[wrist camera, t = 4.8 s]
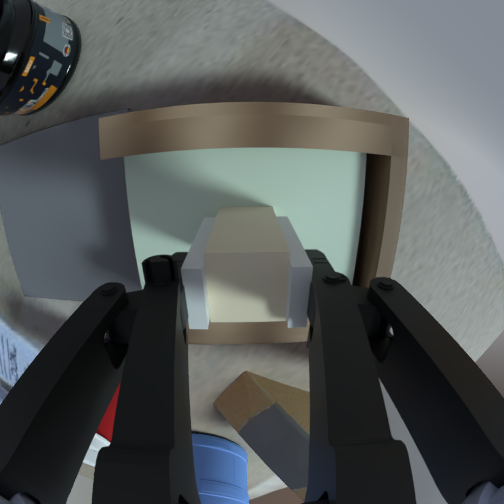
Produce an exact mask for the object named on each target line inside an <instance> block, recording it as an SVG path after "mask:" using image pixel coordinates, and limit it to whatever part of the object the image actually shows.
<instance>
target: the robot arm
mask: <svg viewBox="0 0 504 504" xmlns="http://www.w3.org/2000/svg"><path fill="white" fill-rule="evenodd" d="M276 217H277V219H278V222H279V224H280V227H281V230H282V232H283V235H284V237H285V240H286V242H287V245H288V248H289V250H290V258H289V267H288V284H287V300H286V315H285V317H286V321H287V326H288V328H298V327H306V325H307V317H308V319H309V322H310V325H309V332H308V339H307V346H306V347H309V375H310V435H309V469H308V485H307V491H306V495H305V501H304V503H302V504H417V503H416V496H415V489H414V482H413V476H412V470H411V465H410V459H409V454H408V451H407V448H406V445H405V444H404V443H403V442H402V440H394V438H393V437H392V435H391V431H390V426H389V421H388V416H387V411H386V407H385V402H384V398H383V394H382V390H381V386H380V381H379V379H380V380H381V382H382V384H383V386H384V387H385V389H386V391H387V393H388V395H389V396H390V398H391V400H392V402H393V404H394V405H395V407H396V409H397V411H398V413H399V414H400V416H401V418H402V420H403V422H404V424H405V425H406V427H407V429H408V431H409V433H410V435H411V437H412V439H413V440H414V442H415V444H416V446H417V448H418V450H419V452H420V454H421V456H422V458H423V460H424V462H425V464H426V466H427V468H428V470H429V472H430V474H431V476H432V478H433V480H434V482H435V484H436V486H437V488H438V490H439V491H440V493H441V495H442V497H443V498H444V499H445V501H446V502H447V503H448V504H504V398H503V397H502V395H501V394H500V393H499V391H498V390H497V389H496V388H495V386H494V385H493V384H492V383H491V381H490V380H489V379H488V378H487V377H486V375H485V374H484V373H483V372H482V371H481V369H480V368H479V367H478V366H477V365H476V363H475V362H474V361H473V360H472V359H471V358H470V357H469V355H468V354H467V353H466V352H465V351H464V350H463V349H462V347H461V346H460V345H459V344H458V343H457V342H456V341H455V340H454V339H453V338H452V336H451V335H450V334H449V333H448V332H447V331H446V330H445V329H444V328H443V327H442V326H441V325H440V324H439V323H438V322H437V321H436V319H435V318H434V317H433V316H432V315H431V314H430V313H429V312H428V311H427V310H426V309H425V308H424V307H423V306H422V305H421V304H420V303H419V302H418V301H417V300H416V299H415V298H414V297H413V296H412V295H411V294H410V293H409V292H408V291H407V290H406V289H405V288H404V287H403V286H402V285H400V284H399V283H398V282H397V281H395V280H392V279H391V278H388V277H387V278H386V277H377V278H373V279H372V280H370V283H369V288H367V287H359V286H353V285H351V283H350V280H349V279H348V277H347V276H345V275H344V274H342V273H339V272H335V270H334V269H333V267H332V266H331V264H330V263H329V261H328V259H327V258H326V256H325V254H324V253H322V252H321V251H319V250H318V249H304V248H303V246H302V244H301V242H300V240H299V238H298V236H297V234H296V232H295V230H294V228H293V226H292V224H291V222H290V220H289V219H288V217H287V216H276ZM215 218H216V217H205V218H204V219H203V222H202V224H201V226H200V228H199V230H198V232H197V234H196V236H195V239H194V241H193V243H192V245H191V247H190V250H189V252H175V253H174V254H172V255H155V256H151V257H148V258H147V259H145V260H144V261H143V262H142V263H141V264H142V269H143V275H144V280H145V285H144V289H143V290H138V291H133V292H127V293H126V289H125V285H123V284H122V283H118V282H108V283H105V284H103V285H101V286H99V287H98V288H97V289H95V290H94V291H93V292H92V293H91V295H90V296H89V297H88V298H87V299H86V300H85V301H84V302H83V303H82V304H81V305H80V306H79V307H78V309H77V310H76V311H75V312H74V313H73V314H72V315H71V316H70V317H69V319H68V320H67V321H66V322H65V323H64V324H63V325H62V327H61V328H60V329H59V330H58V331H57V332H56V333H55V335H54V336H53V337H52V338H51V339H50V341H49V342H48V343H47V344H46V345H45V347H44V348H43V349H42V350H41V351H40V353H39V354H38V355H37V356H36V358H35V359H34V360H33V361H32V363H31V364H30V365H29V367H28V368H27V369H26V370H25V372H24V373H23V374H22V376H21V377H20V378H19V380H18V381H17V382H16V384H15V385H14V386H13V388H12V389H11V391H10V392H9V393H8V395H7V396H6V398H5V399H4V400H3V402H2V403H1V405H0V504H66V502H67V498H68V496H69V494H70V492H71V489H72V487H73V484H74V482H75V479H76V477H77V474H78V472H79V470H80V467H81V465H82V463H83V460H84V458H85V456H86V454H87V451H88V449H89V447H90V445H91V442H92V440H93V438H94V436H95V434H96V431H97V429H98V427H99V425H100V423H101V421H102V419H103V416H104V414H105V412H106V410H107V408H108V406H109V404H110V402H111V400H112V398H113V396H114V394H115V392H116V390H117V388H118V386H119V384H120V382H121V384H120V389H119V395H118V400H117V406H116V412H115V418H114V425H113V432H112V439H111V443H110V445H109V446H106V447H102V448H101V449H100V450H99V452H98V454H97V458H96V464H95V472H94V483H93V493H92V504H201V501H200V497H199V494H198V490H197V484H196V476H195V467H194V456H193V445H192V432H191V417H190V399H189V375H188V334H187V329H186V324H187V321H188V323H189V329H208V326H209V320H210V312H209V302H208V292H207V281H206V270H205V258H204V252H205V249H206V246H207V243H208V240H209V236H210V233H211V230H212V227H213V224H214V221H215ZM391 327H392V330H393V335H392V334H391V332H390V328H391ZM105 333H106V336H107V338H106V339H105V340H104V336H105Z"/></svg>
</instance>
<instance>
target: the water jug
mask: <svg viewBox="0 0 504 504" xmlns="http://www.w3.org/2000/svg"><path fill="white" fill-rule="evenodd" d="M192 445H193V456H194V467H195V476H196V484H197V490H198V494H199V497H200V501H201V504H249V496H248V490H247V466H248V457H247V454H246V452H245V450H244V449H243V448H242V447H240V446H239V445H237V444H235V443H233V442H231V441H229V440H226V439H223V438H219V437H215V436H210V435H204V434H192Z"/></svg>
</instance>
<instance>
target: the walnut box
mask: <svg viewBox="0 0 504 504" xmlns="http://www.w3.org/2000/svg"><path fill="white" fill-rule="evenodd" d="M408 138H409V118H405V117H401V116H396V115H391V114H385V113H380V112H374V111H368V110H361V109H354V108H346V107H338V106H328V105H318V104H304V103H286V102H223V103H204V104H191V105H180V106H171V107H163V108H155V109H148V110H141V111H135V112H129V113H123V114H118V115H113V116H108V117H103V118H99V142H100V158H101V160H104V159H110V158H117V157H123V160H124V156H132V155H140V154H149V153H159V152H169V151H182V150H196V149H216V148H305V149H324V150H339V151H351V152H362V153H367V154H366V172H365V186H364V198H363V208H362V218H361V227H360V235H359V242H358V250H357V257H356V263H355V270H354V276H353V282H352V285H353V286H359V287H367V288H369V283H370V280H372V279H373V278H377V277H386V278H387V277H388V278H391V273H392V268H393V264H394V259H395V253H396V248H397V242H398V237H399V230H400V224H401V217H402V210H403V202H404V193H405V184H406V173H407V159H408ZM124 173H125V166H124ZM125 184H126V178H125ZM126 194H127V189H126ZM127 203H128V198H127ZM128 211H129V207H128ZM129 219H130V215H129ZM130 226H131V222H130ZM131 233H132V229H131ZM132 239H133V236H132ZM133 245H134V243H133ZM134 251H135V249H134ZM135 257H136V255H135ZM136 263H137V260H136ZM137 268H138V266H137ZM138 273H139V271H138ZM139 278H140V276H139ZM140 283H141V281H140ZM141 288H142V286H141ZM309 325H310V322H309V319H308V317H307V325H306V327H298V328H288V326H287V321H269V322H210V320H209V326H208V329H189V323H188V321H187V324H186V329H187V334H188V344H269V343H290V342H306V341H307V339H308V332H309Z"/></svg>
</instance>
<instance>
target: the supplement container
mask: <svg viewBox="0 0 504 504" xmlns="http://www.w3.org/2000/svg"><path fill="white" fill-rule="evenodd" d="M80 52H81V35H80V31H79V28H78V27H77V25H76V24H75V22H74V21H73V20H71V19H70V18H68V17H66V16H63V15H60V14H58V13H56V12H54V11H52V10H50V9H48V8H46V7H44V6H42V5H40V4H38V3H35V2H33V1H32V0H0V116H5V115H31V114H35V113H37V112H39V111H41V110H43V109H45V108H46V107H48V106H49V105H50V104H51V103H52V102H54V101H55V100H56V99H57V98H58V96H59V95H60V94H61V93H62V92H63V90H64V89H65V87H66V86H67V84H68V83H69V81H70V79H71V78H72V76H73V74H74V72H75V69H76V67H77V64H78V61H79V57H80Z"/></svg>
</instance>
